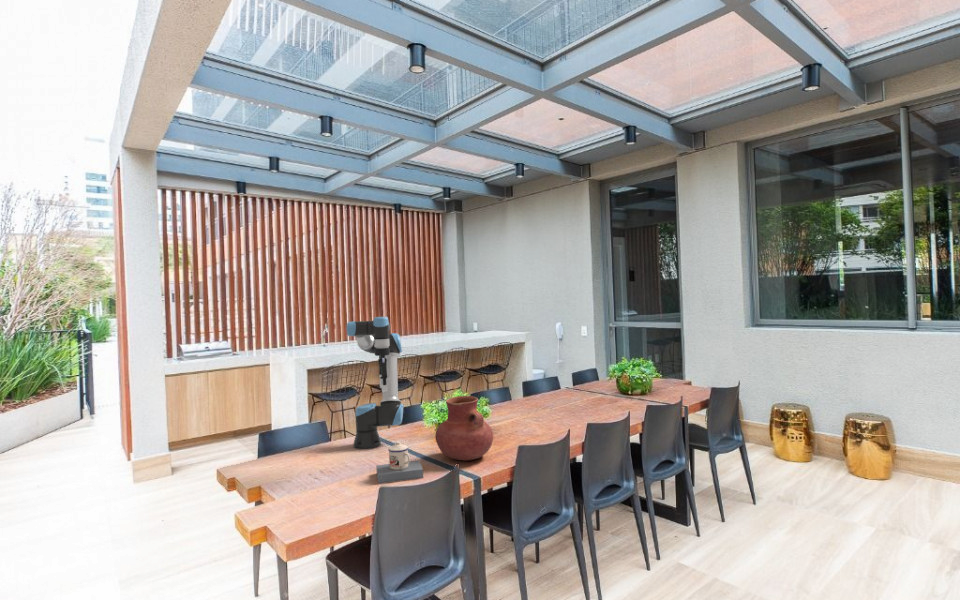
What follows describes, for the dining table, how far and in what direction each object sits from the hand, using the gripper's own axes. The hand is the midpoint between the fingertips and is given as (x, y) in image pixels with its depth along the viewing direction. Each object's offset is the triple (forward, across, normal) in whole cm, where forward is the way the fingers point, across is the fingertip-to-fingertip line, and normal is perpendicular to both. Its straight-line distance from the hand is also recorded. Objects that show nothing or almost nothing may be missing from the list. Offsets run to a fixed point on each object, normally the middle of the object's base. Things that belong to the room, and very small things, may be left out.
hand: (383, 389), depth 253 cm
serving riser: (+37, +23, +4) cm, 43 cm away
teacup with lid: (+33, +24, +5) cm, 41 cm away
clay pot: (+37, +8, +39) cm, 54 cm away
